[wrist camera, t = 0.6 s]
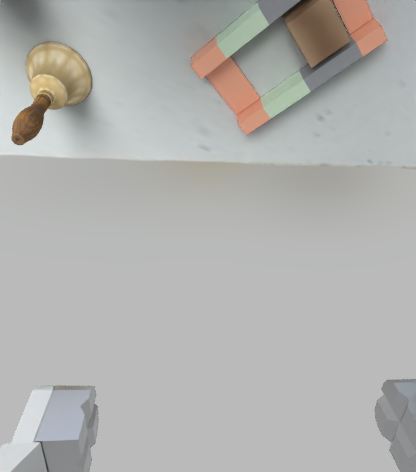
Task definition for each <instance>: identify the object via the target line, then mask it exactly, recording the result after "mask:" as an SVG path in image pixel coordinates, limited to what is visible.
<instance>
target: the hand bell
mask: <svg viewBox="0 0 416 472" xmlns="http://www.w3.org/2000/svg"><path fill="white" fill-rule="evenodd" d="M26 73H27V76H28V79H29V81H30V92H31V95H32V97H33V98H34V102H33V104H32V105H31V106H30V107H28V108H25V109H24V110H23V111H21V112H20V113H19V115H18V116H17V117H16V119H15V120H14V123H13V128H12V132H13V133H12V141H13V142H14V143H15V144H17V145H23V144H24V143H26V142H27V141H29V140H31V139H33V138H34V137H35V136H36V135H37V134H38V133H39V131H40V130H41V128H42V125H43V119H44V113H45V112H46V110H47V109H59V108H61V107H63V106H69V105H75V104H78V103H80V102H81V101H83V100H84V99H85V98H86V97H87V96H88V94H89V92H90V89H91V85H92V78H91V73H90V70H89V68H88V66H87V64H86V62H85V61H84V59H83V58H82V57H81V56H80V55H79V54H78V53H77V52H76V51H74V50H73V49H71V48H70V47H68V46H66V45H64V44H60V43H57V42H45V43H41V44H39V45H37V46H35V47H34V48H33V49H32V50H31V51H30V52H29V54H28V56H27V59H26Z"/></svg>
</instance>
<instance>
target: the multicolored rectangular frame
mask: <svg viewBox="0 0 416 472" xmlns="http://www.w3.org/2000/svg"><path fill="white" fill-rule="evenodd" d="M299 1H300V0H259V1H258V2H257V3H256V4H254V5H253V6H252V7H251V8H250V9H248V10H247V11H246V12H245V13H244V14H242V15H241V16H240V17H239V18H238V19H236V20H235V21H234V22H233V23H232V24H231V25H229V26H228V27H227V28H226V29H225V30H223V31H222V32H221V33H220V34H219V35H217V36H216V37H215V38H214V39H213V40H211V41H210V42H209V43H208V44H207V45H205V46H204V47H203V48H202V49H201V50H199V51H198V52H197V53H196V54H195V55H194V56H192V57H191V67H192V68H193V70H194V71H195V72H196V73H197V75H198V76H199V77H200V78H201V79H202V78H203V77H205V76H206V77H207V79H208V80H209V81H210V82H211V84H212V85H213V86H214V87H215V89H216V90H217V91H218V93H219V94H220V95H221V96H222V98H223V99H224V100H225V101H226V103H227V104H228V105H229V106H230V108H231V109H232V110H233V111H234V113H235V114H236V115H237V121H238V126H239V127H240V128H241V129H242V131H243V132H244V133H245V134H246V135H248V134H249V133H250V132H252V131H253V130H255V129H256V128H258V127H259V126H261V125H262V124H264V123H265V122H267V121H268V120H270V119H271V118H273V117H274V116H276V115H277V114H279V113H280V112H282V111H283V110H285V109H286V108H288V107H289V106H291V105H292V104H294V103H295V102H296V101H298V100H299V99H301V98H302V97H304V96H305V95H307V94H308V93H310V92H311V91H313V90H314V89H316V88H317V87H319V86H320V85H322V84H323V83H325V82H326V81H328V80H329V79H331V78H332V77H334V76H335V75H337V74H338V73H340V72H341V71H342V70H344V69H345V68H347V67H348V66H350V65H351V64H353V63H354V62H356V61H357V60H359V59H360V58H362V57H363V56H365V55H366V54H368V53H369V52H371V51H372V50H374V49H375V48H377V47H378V46H380V45H381V44H383V43H384V42H386V41H387V38H386V35H385V33H384V31H383V28H382V26H381V25H380V24H379V23H378V22H377V21H376V20H375V19H374V18H373V16H372V13H371V11H370V9H369V6H368V4H367V2H366V0H333V2H334V4H335V6H336V8H337V10H338V12H339V14H340V16H341V18H342V20H343V22H344V24H345V26H346V28H347V30H348V32H349V35H348V37H349V39H350V42H349V43H347V44H346V45H344V46H343V47H341V48H340V49H338V50H337V51H335V52H334V53H333V54H331V55H330V56H328V57H327V58H325V59H324V60H322V61H321V62H320V63H318V64H317V65H315V66H314V67H312V68H311V67H310V65H309V63H308V64H307V65H306V66H304V67H303V68H301V69H300V70H299V71H297V72H296V73H294V74H293V75H292V76H290V77H289V78H287V79H286V80H285V81H283V82H282V83H280V84H279V85H278V86H276V87H275V88H273V89H272V90H270V91H269V92H268V93H266V94H265V95H263V96H262V97H261V98H260V96H259V95H258V94H257V92H256V91H255V89H254V88H253V87H252V85H251V84H250V82H249V81H248V80H247V78H246V77H245V76H244V74H243V73H242V71H241V70H240V69H239V67H238V66H237V64H236V63H235V62H234V60H233V59H232V58H231V55H232V54H234V53H235V52H236V51H237V50H239V49H240V48H241V47H242V46H244V45H245V44H246V43H247V42H249V41H250V40H251V39H252V38H254V37H255V36H256V35H257V34H259V33H260V32H261V31H262V30H264V29H265V28H266V27H267V26H269V25H270V24H271V23H272V22H274V21H275V20H276V19H278V18H279V17H280V16H281V15H283V14H284V13H285V12H286V11H288V10H289V9H290V8H291V7H293V6H294V5H295V4H296V3H298V2H299Z"/></svg>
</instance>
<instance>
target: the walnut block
mask: <svg viewBox="0 0 416 472" xmlns="http://www.w3.org/2000/svg"><path fill="white" fill-rule="evenodd" d="M282 17H283V19H284V21H285V23H286V25H287V27H288V29H289V30H290V32H291V34H292V36H293V37H294V39H295V41H296V42H297V44H298V46H299V48H300V49H301V51H302V53H303V55H304V56H305V58H306V60H307V62H308V63H309V65H310V67H311V68H312V67H314V66H315V65H317V64H318V63H320V62H321V61H322V60H324V59H325V58H327V57H328V56H330V55H331V54H333V53H334V52H335V51H337V50H338V49H340V48H341V47H343V46H344V45H346V44H347V43H349V42H350V39H349V37H348V35H347V33H346V31H345V29H344V27H343V25H342V23H341V21H340V18H339V16H338V14H337V12H336V10H335V8H334V6H333V4H332V2H331V0H300V1H299V2H298V3H297V4H295V5H294V6H293V7H291V8H290V9H289V10H288V11H286V12H285V13H284V14H283V15H282Z"/></svg>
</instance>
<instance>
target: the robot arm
mask: <svg viewBox="0 0 416 472" xmlns="http://www.w3.org/2000/svg"><path fill="white" fill-rule="evenodd" d="M382 391H383V393H384V395H383V396H382V397H381V398H380V399H378V400H377V403H376V406H375V418H376V422H377V425H378V428H379V430H380V432H381V434H382V435H383V436H384V437H385V438H386V439H388V440H389V441H390V442H391V445H390V452H391V454H392V456H393V458H394V460H395V462H396V464H397V466H398V468H399V470H400V472H416V379H402V380H387V381H385V382H384V384H383V387H382ZM95 397H96V391H95V387H94V386H36V387H35V388H34V390H33V391H32V393H31V395H30V398H29V400H28V403H27V405H26V407H25V410H24V412H23V415H22V417H21V420H20V422H19V424H18V427H17V429H16V432H15V434H14V437H13V439H12V442H11V443H5V444H3V445H2V446H1V447H0V472H89V470H90V466H91V461H92V458H91V451H90V448H91V447H92V446H93V445H94V444H95V441H96V436H97V429H98V406H97V405H95V404H94V402H95Z"/></svg>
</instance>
